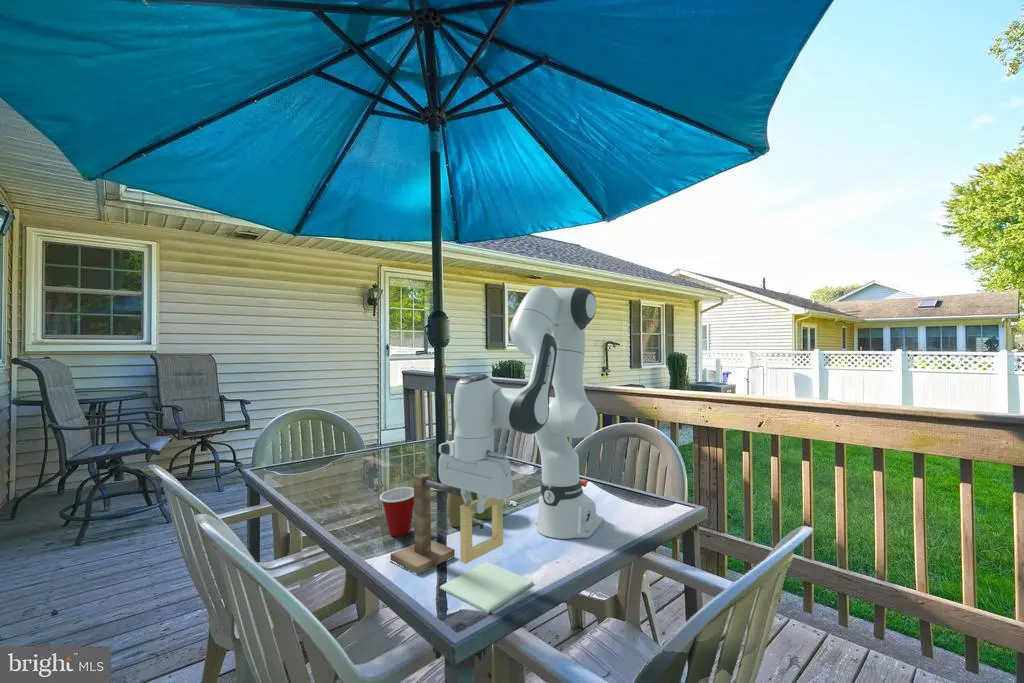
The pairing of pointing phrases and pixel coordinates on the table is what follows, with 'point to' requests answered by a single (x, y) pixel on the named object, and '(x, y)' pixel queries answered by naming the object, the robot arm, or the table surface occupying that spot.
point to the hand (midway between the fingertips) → (474, 510)
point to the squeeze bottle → (454, 509)
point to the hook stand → (424, 530)
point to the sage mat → (487, 586)
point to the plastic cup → (398, 509)
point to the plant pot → (487, 511)
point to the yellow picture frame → (466, 530)
